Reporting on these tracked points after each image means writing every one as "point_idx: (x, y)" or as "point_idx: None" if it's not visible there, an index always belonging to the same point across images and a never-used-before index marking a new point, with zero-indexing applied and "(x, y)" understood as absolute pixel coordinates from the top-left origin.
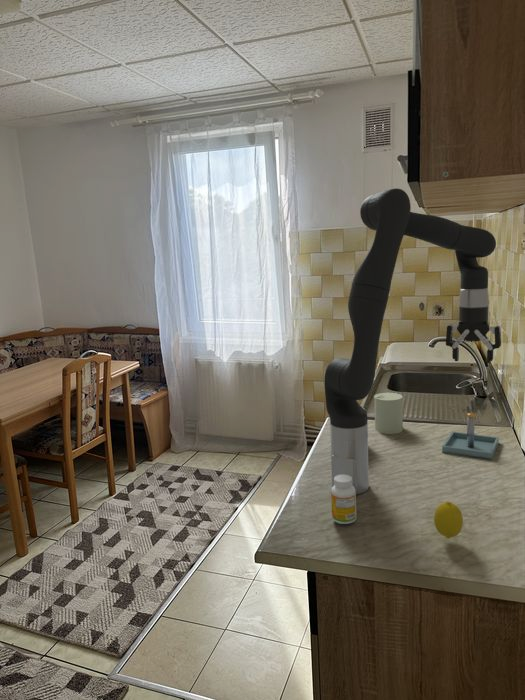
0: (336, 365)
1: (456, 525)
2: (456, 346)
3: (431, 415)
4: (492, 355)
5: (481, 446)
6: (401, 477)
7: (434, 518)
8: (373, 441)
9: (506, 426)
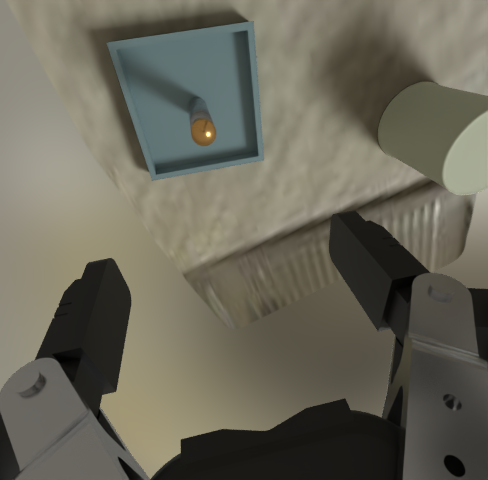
0: None
1: None
2: (419, 295)
3: None
4: (51, 322)
5: (174, 123)
6: None
7: None
8: (447, 2)
9: (184, 274)
